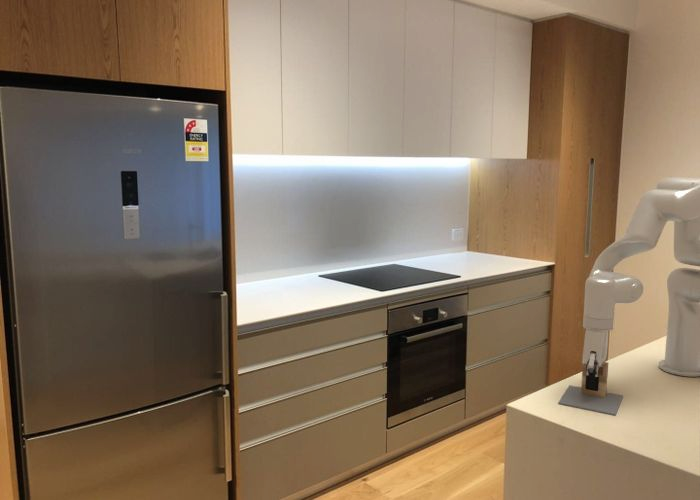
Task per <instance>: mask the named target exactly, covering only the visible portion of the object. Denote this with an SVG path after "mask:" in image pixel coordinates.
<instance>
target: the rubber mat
mask: <svg viewBox="0 0 700 500" xmlns="http://www.w3.org/2000/svg"><path fill="white" fill-rule="evenodd" d="M581 387H582V386H575V385H571V384H570V385H568V386H567V389H565V392H564V393H563V394H562V396H561V398H560V399H559V401H558V402H557V403H558V405H563V406H565V407H572V408H577V409H581V410H587V411H591V412H596V413H600V414H606V415H611V416H617V413H618V410H619V408H620V406H621V403H622V401H623V398H624V394H619V393H612V392H608V391H607V392H606V396H605V398H603V397H598V396H593V395H588V394H582V393H581Z"/></svg>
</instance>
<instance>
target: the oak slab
mask: <svg viewBox="0 0 700 500" xmlns="http://www.w3.org/2000/svg"><path fill="white" fill-rule="evenodd" d="M597 364H598V363H595V364H594V365H597ZM587 367H588V362H587V364H585V365H584V364H583V363H582V374H581V386H580V387H581V393H582V394H588V395H593V396H598V397H603V398H605V396H606V392H608V391H607V389H608V376H609V375H608V374H609V362H607V361H604V363H603V365H602V366H601V367H599V372H598V377H599V387H598V391H592V390H587V389H585V385H586V374H587ZM594 369H595V370H596V368H594Z"/></svg>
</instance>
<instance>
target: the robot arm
mask: <svg viewBox="0 0 700 500" xmlns="http://www.w3.org/2000/svg"><path fill="white" fill-rule="evenodd" d="M667 222H673V256H674V259H675V260H676V262H678V263H680V264H683V265H689V266H694V267H700V177H689V176H688V177H687V176H671V177H664V178H661V179H660V180H659V181H658V182H657V184H656V188H655V189H651V190H647V191H646V192H644V193H643V194H642V195H641V197H640V198H639V200H638V203H637V206H636V207H635V209H634V211H633V213H632V217H631V218H630V222H629V223H628V225H627V228H626V230H625V232H624V234H623V235H622V236H621V237H619V238H618V239H616V240H615V241H613V242H612V243H611V244H610V245H608V246H607V247H605V249H603V251H602V252H601V253H600V254H599V255H598V257H597V258H596V259H595V261H594V264H593V267H592V268H591V271H590V272H589V276H588V277H587V278H586V280H585V284H584V302H583V304H584V305H583V321H582V328H584V329H585V335H584V339H583V340H584V341H583V351H582V361H581V362H582V365H583V364H584V365H585V364H587V362H588V367H587V374H586V385H585V389H587V390H592V391H598V387H599V377H598V372H599V367H601V366H602V365H603V363H604V362H606V360H607V356H608V347H609V346H608V345H609V332H611V331H613V330H614V322H615V318H614V317H615V306H616V305H615V304H632V303H634V302H635V303H636V302H637V301H638V300H639V299H640V298H641V297H642V295H643V294H644V286H643V283H642V281H641V280H640V279H639V278H637V277H636V276H632V275H629V274H625V273H624V274H623V273H619V272H614V269H615V267H616V266H617V265H618V264H619V263H621V262H622V261H623V260H626V259H627V258H630V257H632V256H635V255H636V256H637V255H639V254H642V253H646V252H648V251H652V250H653V249H655V248H656V247H657V244H658V242H659V240H660V238H661V236H662V233H663V232H664V231H663V230H664V228H665V226H666V224H667ZM666 287H667V294H668V295H667V296H668V314H667V315H668V316H667V327H666V337H665V338H666V339H665V351H664V359H663V360H660V361H658V368H659V369H660V370H662V371H664V372H666V373H668V374H671V375H677V376H679V377H680V376H682V377H691V378H693V377H694V378H695V377H700V269H696V268H690V267H678V268H676V269H673V270H672V271H671V272H670V273H669V275H668V277H667V279H666ZM595 363H598V364H597V365H594V364H595ZM594 368H596V370H595V369H594Z"/></svg>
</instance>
